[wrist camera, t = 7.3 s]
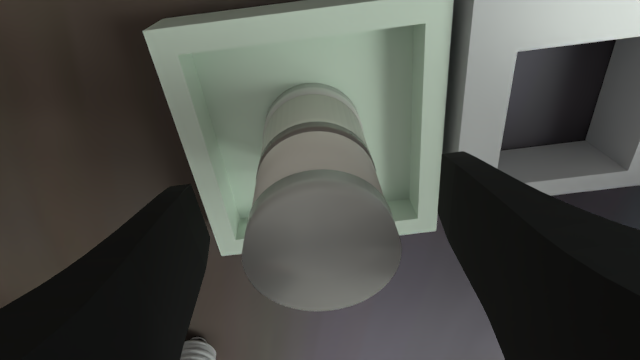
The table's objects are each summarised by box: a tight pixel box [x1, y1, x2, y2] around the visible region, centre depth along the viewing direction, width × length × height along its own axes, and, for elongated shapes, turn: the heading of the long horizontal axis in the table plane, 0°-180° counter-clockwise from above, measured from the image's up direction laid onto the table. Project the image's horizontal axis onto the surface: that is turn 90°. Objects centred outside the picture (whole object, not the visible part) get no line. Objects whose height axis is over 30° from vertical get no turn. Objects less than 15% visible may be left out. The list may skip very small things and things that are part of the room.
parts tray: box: [143, 0, 454, 256], centre depth 14 cm, size 9×9×2 cm
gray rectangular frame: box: [442, 0, 640, 196], centre depth 12 cm, size 8×13×2 cm, turn 6°
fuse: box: [242, 83, 402, 311], centre depth 12 cm, size 4×4×7 cm
